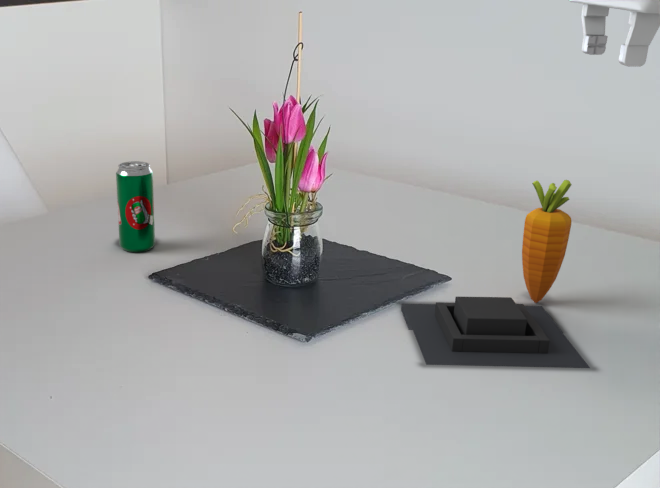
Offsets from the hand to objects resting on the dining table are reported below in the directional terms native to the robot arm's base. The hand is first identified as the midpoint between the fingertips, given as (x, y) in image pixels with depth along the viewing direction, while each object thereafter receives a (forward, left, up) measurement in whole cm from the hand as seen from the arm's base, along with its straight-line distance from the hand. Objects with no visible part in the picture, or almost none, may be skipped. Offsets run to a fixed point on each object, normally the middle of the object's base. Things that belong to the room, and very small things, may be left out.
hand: (610, 59), depth 78 cm
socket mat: (+8, 0, -29) cm, 30 cm away
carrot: (0, -11, -29) cm, 31 cm away
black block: (+8, 0, -28) cm, 29 cm away
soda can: (+50, -29, -29) cm, 65 cm away
